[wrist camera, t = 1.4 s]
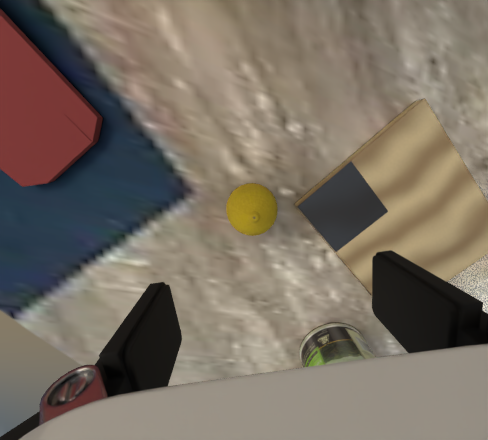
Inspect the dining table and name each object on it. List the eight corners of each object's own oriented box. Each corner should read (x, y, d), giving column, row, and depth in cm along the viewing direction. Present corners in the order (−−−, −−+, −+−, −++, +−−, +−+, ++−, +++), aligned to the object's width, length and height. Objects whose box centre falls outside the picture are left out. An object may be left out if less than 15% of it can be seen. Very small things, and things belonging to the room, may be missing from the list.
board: (293, 204, 29) (297, 207, 27) (414, 101, 26) (426, 97, 25) (386, 312, 34) (393, 320, 32) (497, 234, 31) (511, 238, 29)
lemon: (274, 183, 28) (289, 192, 21) (267, 225, 30) (278, 249, 22) (230, 177, 28) (228, 184, 20) (225, 220, 29) (221, 242, 22)
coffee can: (290, 370, 36) (322, 498, 22) (312, 315, 33) (363, 423, 20) (349, 382, 37) (415, 512, 23) (375, 330, 34) (466, 442, 21)
